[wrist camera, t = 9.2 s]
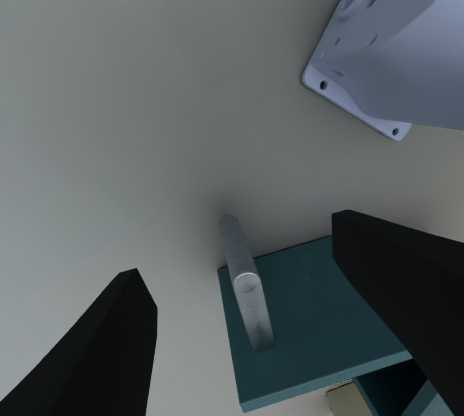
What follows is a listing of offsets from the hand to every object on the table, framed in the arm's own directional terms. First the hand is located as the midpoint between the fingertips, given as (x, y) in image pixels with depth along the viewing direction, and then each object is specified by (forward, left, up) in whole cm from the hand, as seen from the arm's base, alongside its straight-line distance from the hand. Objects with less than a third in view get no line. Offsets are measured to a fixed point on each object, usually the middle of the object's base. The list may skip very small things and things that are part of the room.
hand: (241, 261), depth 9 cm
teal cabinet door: (+7, -2, -10) cm, 12 cm away
